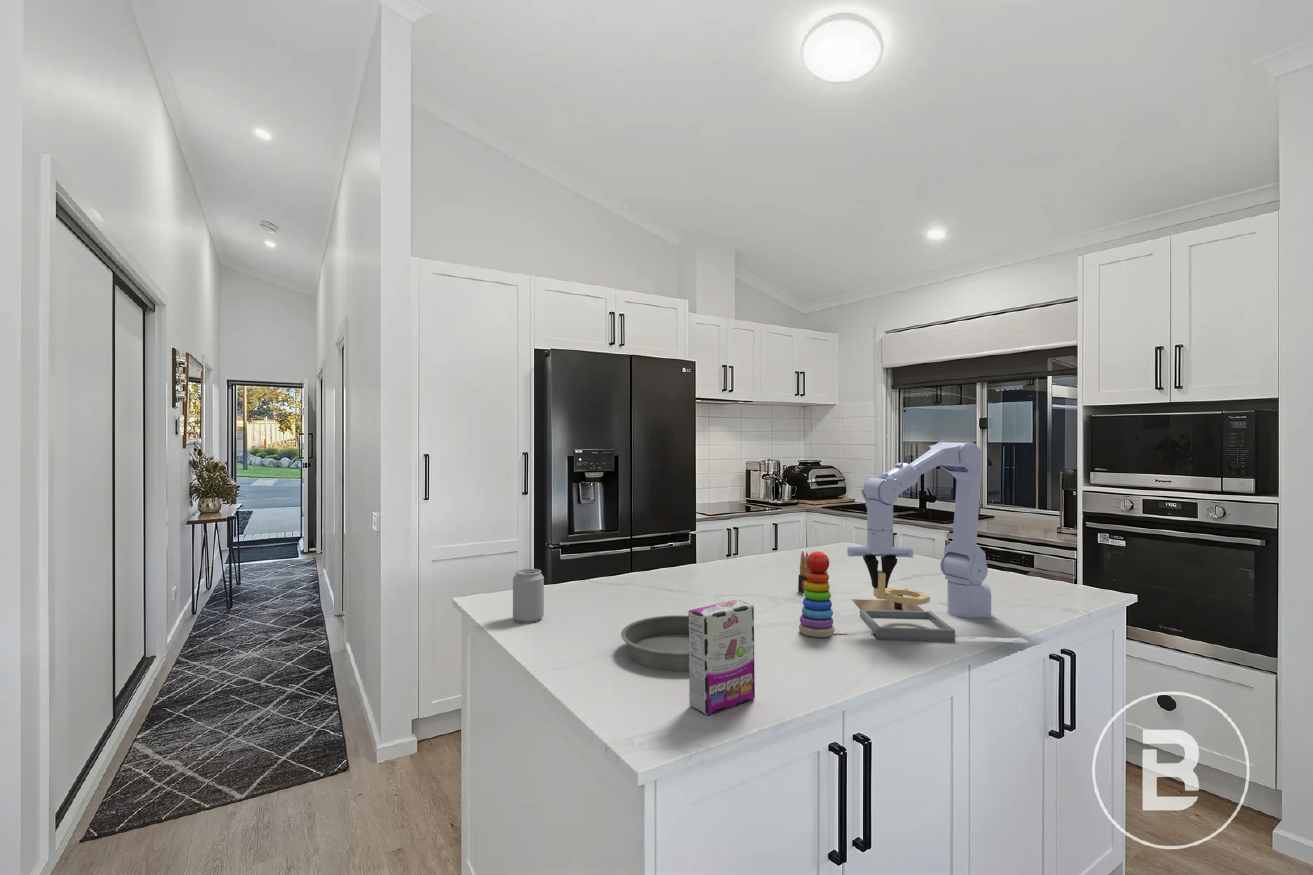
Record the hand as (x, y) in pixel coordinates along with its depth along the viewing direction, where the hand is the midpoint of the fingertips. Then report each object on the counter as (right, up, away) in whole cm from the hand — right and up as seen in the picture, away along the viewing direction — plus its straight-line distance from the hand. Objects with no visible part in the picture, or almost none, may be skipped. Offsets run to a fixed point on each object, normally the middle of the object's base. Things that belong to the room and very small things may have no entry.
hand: (879, 587), depth 147 cm
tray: (+6, -10, 0) cm, 11 cm away
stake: (+10, -9, +14) cm, 20 cm away
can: (-84, -10, +7) cm, 85 cm away
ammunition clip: (-8, -10, +31) cm, 33 cm away
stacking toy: (-15, -10, -3) cm, 19 cm away
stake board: (+8, -10, +15) cm, 20 cm away
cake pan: (-47, -10, -15) cm, 51 cm away
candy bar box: (-41, -10, -40) cm, 59 cm away
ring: (+6, -3, 0) cm, 6 cm away
